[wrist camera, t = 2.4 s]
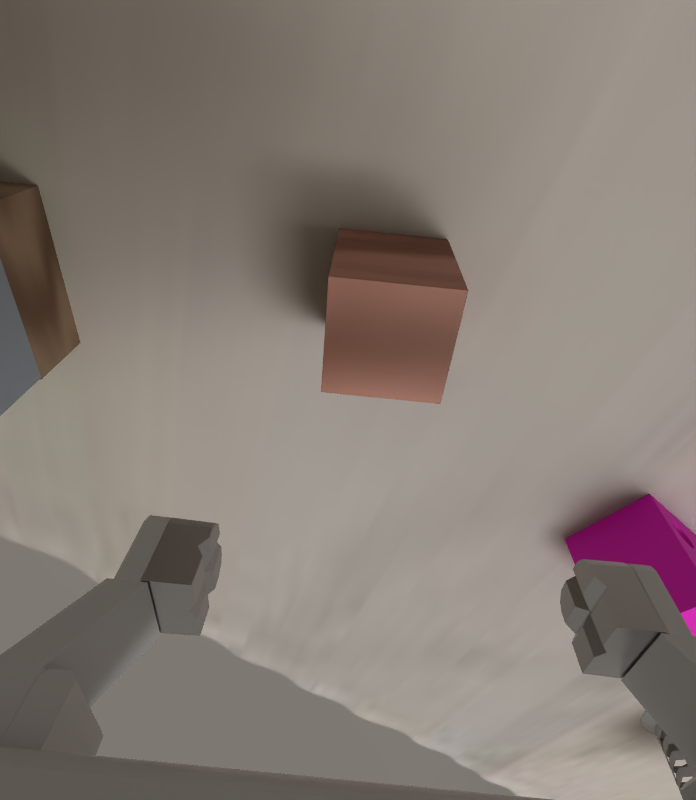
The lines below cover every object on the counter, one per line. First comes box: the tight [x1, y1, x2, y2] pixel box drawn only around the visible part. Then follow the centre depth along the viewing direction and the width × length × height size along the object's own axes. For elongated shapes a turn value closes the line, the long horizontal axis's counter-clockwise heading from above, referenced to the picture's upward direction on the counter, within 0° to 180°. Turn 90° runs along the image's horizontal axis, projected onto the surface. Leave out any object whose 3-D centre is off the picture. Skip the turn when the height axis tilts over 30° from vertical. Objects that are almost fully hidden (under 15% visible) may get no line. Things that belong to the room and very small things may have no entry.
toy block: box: [565, 494, 696, 637], centre depth 31 cm, size 15×6×8 cm, turn 50°
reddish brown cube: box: [321, 229, 468, 404], centre depth 21 cm, size 5×5×6 cm
